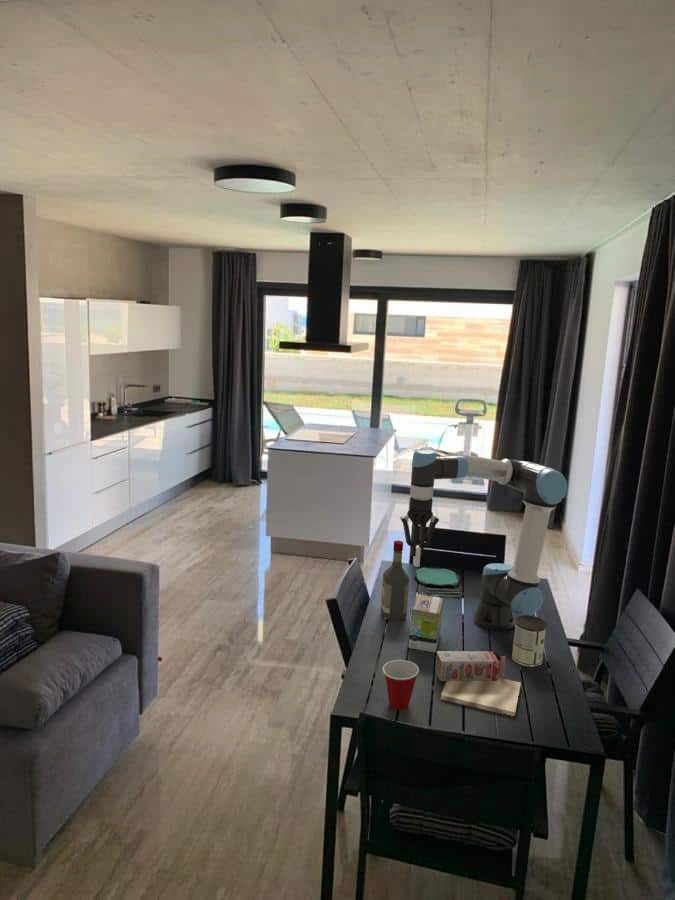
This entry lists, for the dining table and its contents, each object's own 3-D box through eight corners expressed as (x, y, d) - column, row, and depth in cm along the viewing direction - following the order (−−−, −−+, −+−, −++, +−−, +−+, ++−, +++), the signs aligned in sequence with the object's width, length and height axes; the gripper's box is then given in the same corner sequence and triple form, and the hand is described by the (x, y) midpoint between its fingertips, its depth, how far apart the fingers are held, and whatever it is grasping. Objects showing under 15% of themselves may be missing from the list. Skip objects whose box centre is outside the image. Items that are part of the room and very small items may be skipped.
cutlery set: (455, 572, 309) (455, 568, 309) (466, 600, 280) (466, 595, 280) (412, 570, 310) (412, 566, 309) (418, 598, 280) (418, 593, 280)
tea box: (436, 653, 232) (440, 613, 230) (407, 648, 235) (410, 609, 232) (440, 634, 247) (443, 596, 244) (413, 630, 249) (416, 592, 246)
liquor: (402, 610, 265) (407, 538, 260) (407, 620, 257) (413, 546, 251) (379, 610, 264) (384, 538, 258) (384, 621, 255) (389, 546, 249)
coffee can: (512, 649, 238) (516, 612, 235) (542, 655, 234) (547, 618, 232) (510, 663, 228) (514, 624, 225) (541, 669, 225) (546, 630, 222)
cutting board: (440, 699, 204) (441, 694, 204) (451, 671, 221) (452, 667, 220) (514, 716, 197) (515, 712, 196) (520, 686, 213) (520, 682, 213)
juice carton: (436, 651, 217) (502, 651, 219) (434, 670, 218) (500, 670, 220) (441, 661, 210) (509, 661, 212) (439, 681, 211) (507, 680, 214)
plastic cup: (377, 694, 205) (380, 658, 202) (412, 694, 206) (415, 658, 203) (382, 715, 194) (385, 677, 192) (419, 715, 195) (422, 677, 193)
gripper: (436, 494, 225) (431, 560, 230) (399, 494, 223) (394, 561, 227) (443, 500, 218) (438, 568, 222) (405, 500, 215) (400, 569, 220)
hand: (416, 565), depth 225 cm, fingers closed
